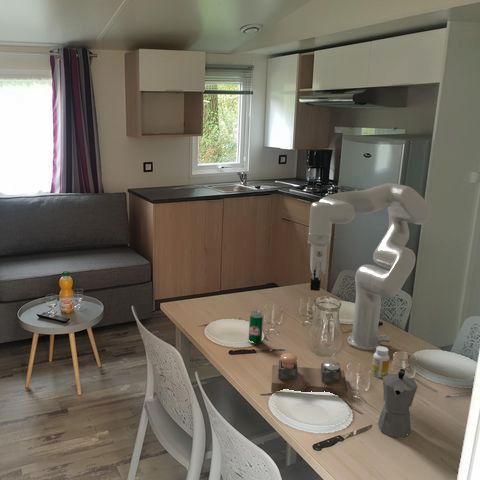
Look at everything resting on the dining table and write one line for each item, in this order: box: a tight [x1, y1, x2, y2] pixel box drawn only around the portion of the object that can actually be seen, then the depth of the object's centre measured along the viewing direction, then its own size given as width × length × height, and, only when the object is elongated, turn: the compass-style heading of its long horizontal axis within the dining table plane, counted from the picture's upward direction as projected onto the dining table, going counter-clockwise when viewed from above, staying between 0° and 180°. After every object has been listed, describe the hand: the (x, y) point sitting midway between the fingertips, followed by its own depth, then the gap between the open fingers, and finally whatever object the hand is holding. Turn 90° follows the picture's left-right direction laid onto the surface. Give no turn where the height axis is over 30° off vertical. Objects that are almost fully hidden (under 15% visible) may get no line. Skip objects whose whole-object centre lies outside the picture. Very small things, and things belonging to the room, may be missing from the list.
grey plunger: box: [323, 360, 341, 372], centre depth 174 cm, size 5×5×5 cm
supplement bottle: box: [371, 345, 390, 379], centre depth 184 cm, size 5×5×10 cm
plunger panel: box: [270, 359, 349, 398], centre depth 175 cm, size 24×12×6 cm, turn 86°
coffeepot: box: [377, 368, 418, 438], centre depth 153 cm, size 15×9×18 cm, turn 158°
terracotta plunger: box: [280, 352, 298, 369], centre depth 175 cm, size 5×5×5 cm
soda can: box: [248, 310, 264, 345], centre depth 204 cm, size 5×5×12 cm
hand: (314, 289), depth 186 cm, fingers closed
